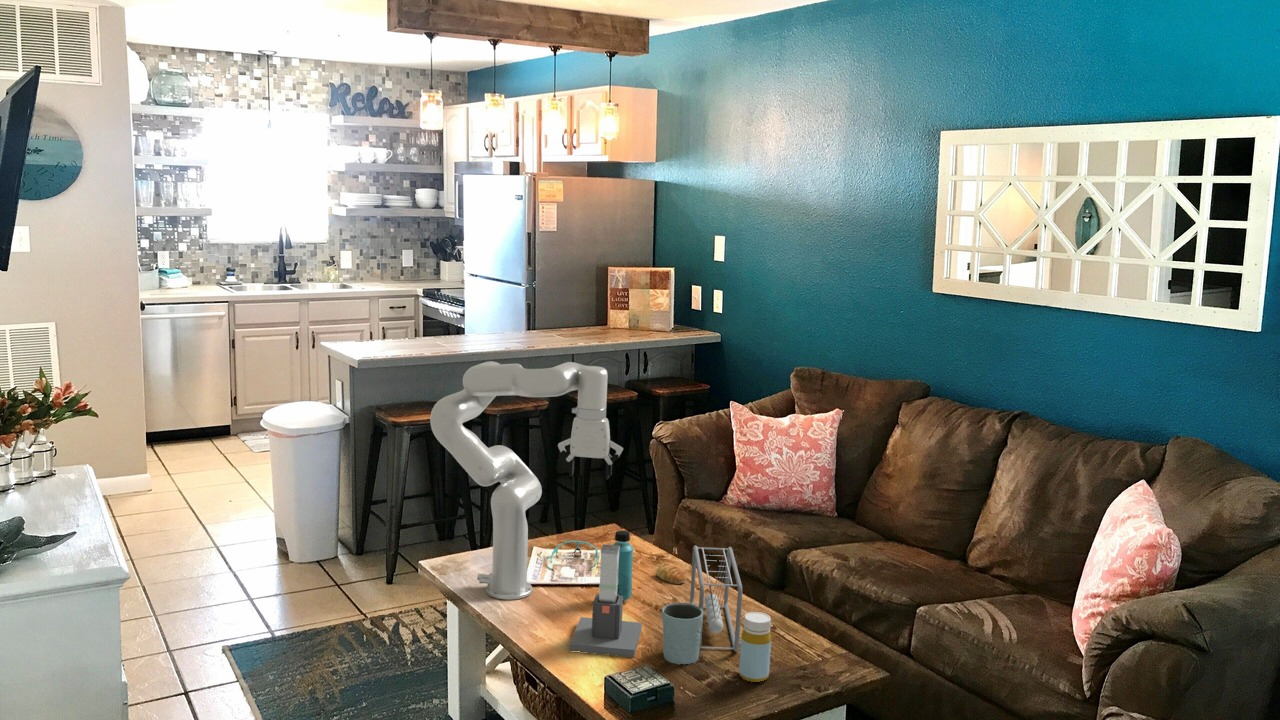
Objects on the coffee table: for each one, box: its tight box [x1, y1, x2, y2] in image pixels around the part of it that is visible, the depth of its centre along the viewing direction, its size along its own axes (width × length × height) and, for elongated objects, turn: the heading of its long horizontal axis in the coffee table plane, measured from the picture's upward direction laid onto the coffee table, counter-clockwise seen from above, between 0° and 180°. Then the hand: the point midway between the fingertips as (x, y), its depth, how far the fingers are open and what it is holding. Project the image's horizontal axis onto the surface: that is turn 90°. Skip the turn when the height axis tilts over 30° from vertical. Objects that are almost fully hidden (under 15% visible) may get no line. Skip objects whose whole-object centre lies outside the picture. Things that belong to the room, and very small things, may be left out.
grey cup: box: [661, 602, 704, 666], centre depth 256 cm, size 10×10×12 cm
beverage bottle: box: [612, 529, 634, 601], centre depth 287 cm, size 6×7×20 cm
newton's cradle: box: [689, 545, 743, 652], centre depth 273 cm, size 30×10×18 cm, turn 1°
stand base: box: [569, 593, 643, 658], centre depth 263 cm, size 16×16×11 cm
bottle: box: [738, 611, 772, 683], centre depth 247 cm, size 7×7×15 cm
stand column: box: [598, 544, 620, 604], centre depth 261 cm, size 4×4×15 cm
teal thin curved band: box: [550, 540, 599, 570], centre depth 315 cm, size 14×15×5 cm
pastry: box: [656, 562, 687, 585], centre depth 306 cm, size 9×7×4 cm
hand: (589, 476), depth 278 cm, fingers open, 9 cm apart
